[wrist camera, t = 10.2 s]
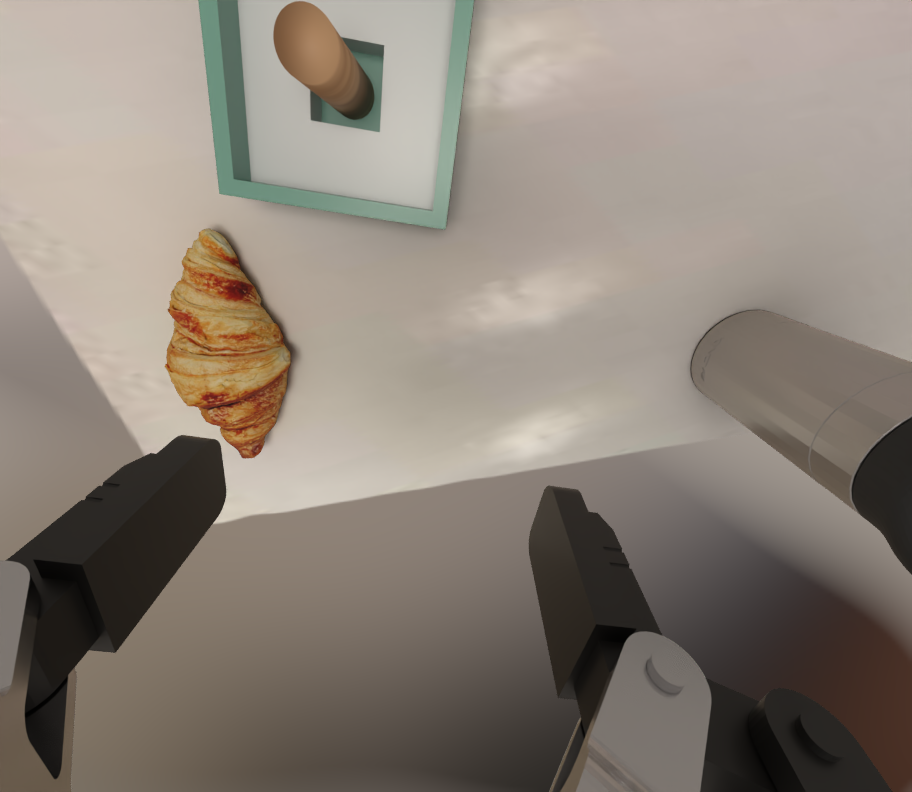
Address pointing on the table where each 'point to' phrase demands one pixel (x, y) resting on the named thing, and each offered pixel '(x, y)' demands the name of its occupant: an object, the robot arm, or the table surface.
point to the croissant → (226, 346)
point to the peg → (321, 59)
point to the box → (324, 128)
